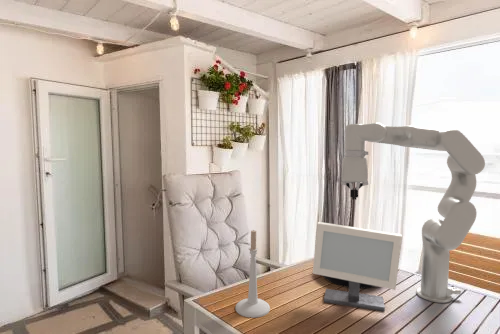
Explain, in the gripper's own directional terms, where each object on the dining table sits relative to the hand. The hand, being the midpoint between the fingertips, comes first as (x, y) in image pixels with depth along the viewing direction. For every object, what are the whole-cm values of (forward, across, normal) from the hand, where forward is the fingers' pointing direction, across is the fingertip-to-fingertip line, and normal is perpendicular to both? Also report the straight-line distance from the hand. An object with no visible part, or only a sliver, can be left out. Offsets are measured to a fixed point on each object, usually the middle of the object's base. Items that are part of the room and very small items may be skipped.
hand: (354, 199), depth 136 cm
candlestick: (+38, +37, +26) cm, 59 cm away
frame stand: (+39, 0, +9) cm, 40 cm away
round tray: (+40, 0, -16) cm, 43 cm away
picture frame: (+29, +1, +13) cm, 32 cm away
